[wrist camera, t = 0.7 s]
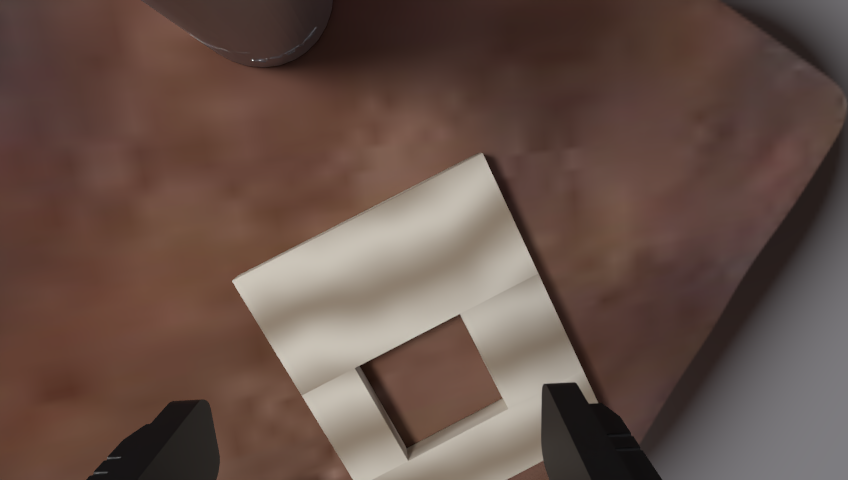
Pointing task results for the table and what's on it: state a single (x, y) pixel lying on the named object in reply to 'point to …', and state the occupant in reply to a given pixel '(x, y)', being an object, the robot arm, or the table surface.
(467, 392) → the table surface
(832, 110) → the table surface
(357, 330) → the cream board with hole
